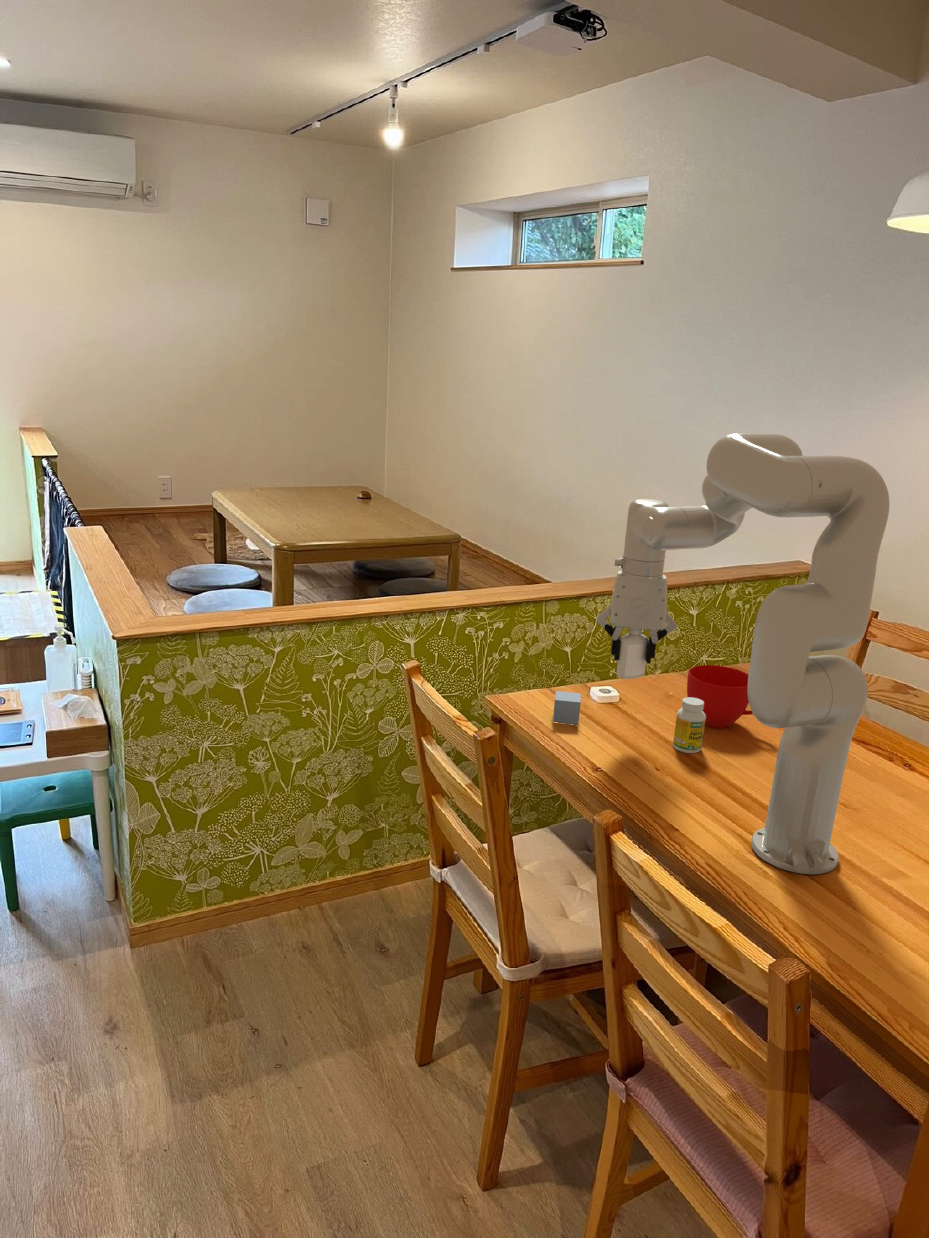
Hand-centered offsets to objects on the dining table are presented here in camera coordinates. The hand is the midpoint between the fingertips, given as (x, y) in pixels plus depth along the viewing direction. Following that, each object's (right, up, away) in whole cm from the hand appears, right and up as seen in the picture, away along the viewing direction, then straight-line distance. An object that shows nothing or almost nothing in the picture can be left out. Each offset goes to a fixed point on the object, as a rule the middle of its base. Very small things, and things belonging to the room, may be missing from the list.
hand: (632, 659), depth 180 cm
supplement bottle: (+10, -17, 0) cm, 20 cm away
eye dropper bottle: (0, -3, +1) cm, 4 cm away
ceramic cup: (+21, -14, +13) cm, 28 cm away
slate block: (-12, -13, +9) cm, 20 cm away
